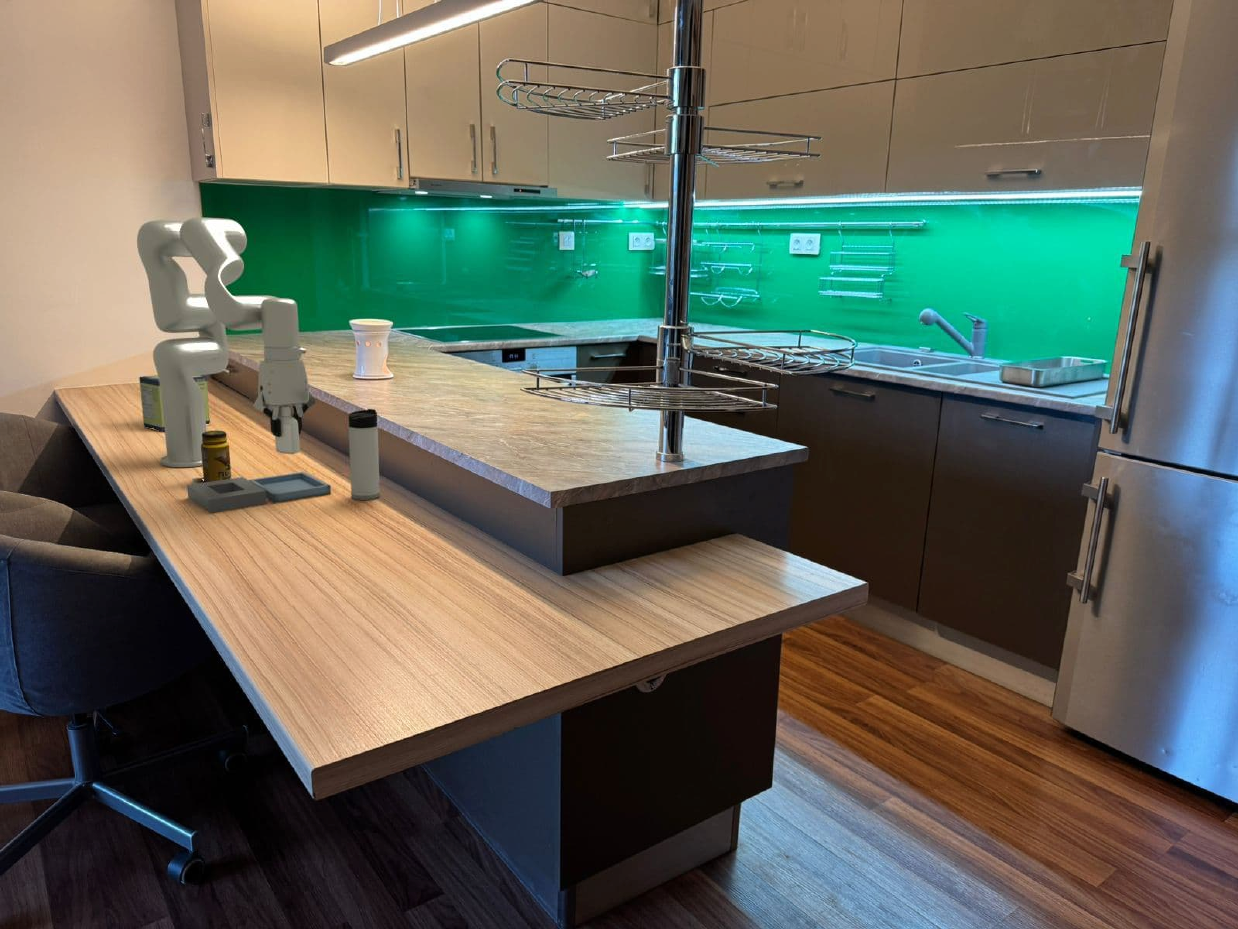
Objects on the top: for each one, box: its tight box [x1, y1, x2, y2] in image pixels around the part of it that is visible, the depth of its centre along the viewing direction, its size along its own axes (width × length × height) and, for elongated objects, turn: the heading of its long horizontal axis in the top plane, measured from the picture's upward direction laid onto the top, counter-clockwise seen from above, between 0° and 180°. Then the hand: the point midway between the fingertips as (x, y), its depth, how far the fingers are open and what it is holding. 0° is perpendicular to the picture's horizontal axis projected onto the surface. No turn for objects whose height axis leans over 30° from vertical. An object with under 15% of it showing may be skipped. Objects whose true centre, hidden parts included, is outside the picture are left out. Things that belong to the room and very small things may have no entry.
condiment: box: [191, 429, 233, 484], centre depth 201 cm, size 7×8×12 cm
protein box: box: [139, 374, 211, 432], centre depth 257 cm, size 10×16×16 cm
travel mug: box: [348, 408, 381, 501], centre depth 192 cm, size 6×7×20 cm
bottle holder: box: [186, 476, 268, 514], centre depth 187 cm, size 14×12×3 cm
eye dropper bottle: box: [274, 405, 300, 455], centre depth 193 cm, size 4×6×12 cm
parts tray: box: [248, 471, 332, 504], centre depth 197 cm, size 15×13×2 cm
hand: (286, 433), depth 193 cm, fingers closed on eye dropper bottle, 3 cm apart
